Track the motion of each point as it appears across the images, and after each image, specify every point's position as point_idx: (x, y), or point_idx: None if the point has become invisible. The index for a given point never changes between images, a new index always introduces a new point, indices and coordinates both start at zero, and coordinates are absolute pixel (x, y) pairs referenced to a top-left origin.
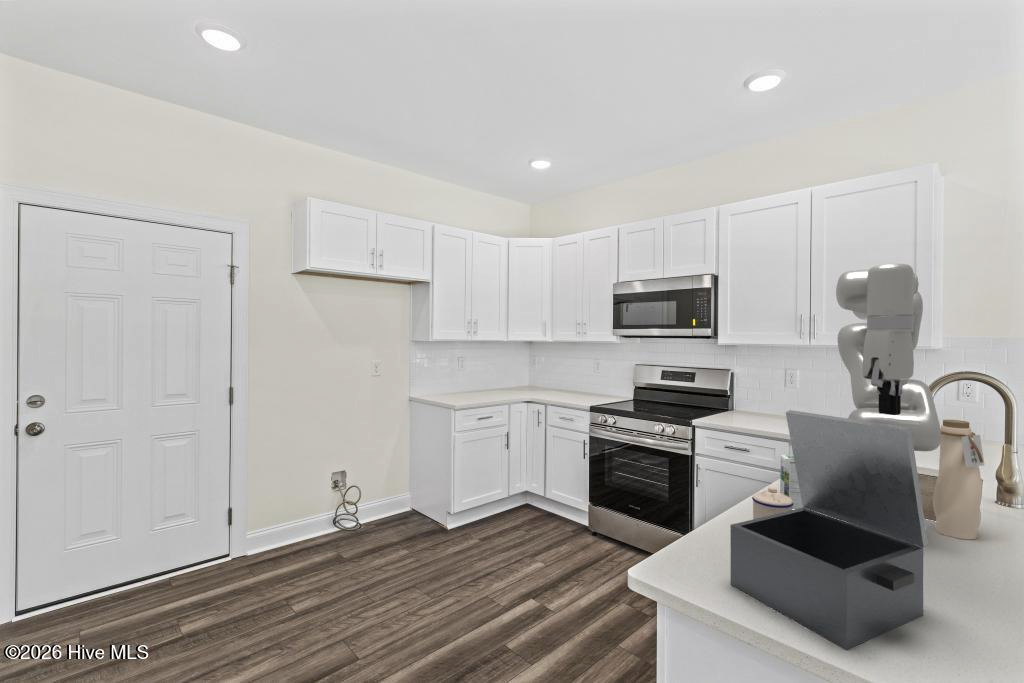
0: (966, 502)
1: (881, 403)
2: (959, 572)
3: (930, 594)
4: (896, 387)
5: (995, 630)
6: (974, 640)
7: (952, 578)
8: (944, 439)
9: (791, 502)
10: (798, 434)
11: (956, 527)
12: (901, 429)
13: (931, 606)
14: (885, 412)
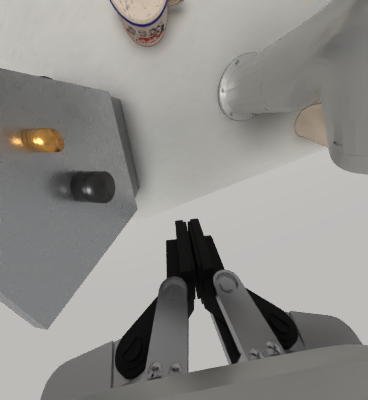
0: (323, 139)
1: (167, 254)
2: (220, 164)
3: (169, 175)
4: (219, 332)
5: (161, 206)
6: (141, 207)
7: (206, 168)
8: None
9: (149, 20)
10: None
11: (301, 129)
12: (32, 324)
13: (154, 183)
14: (176, 235)
